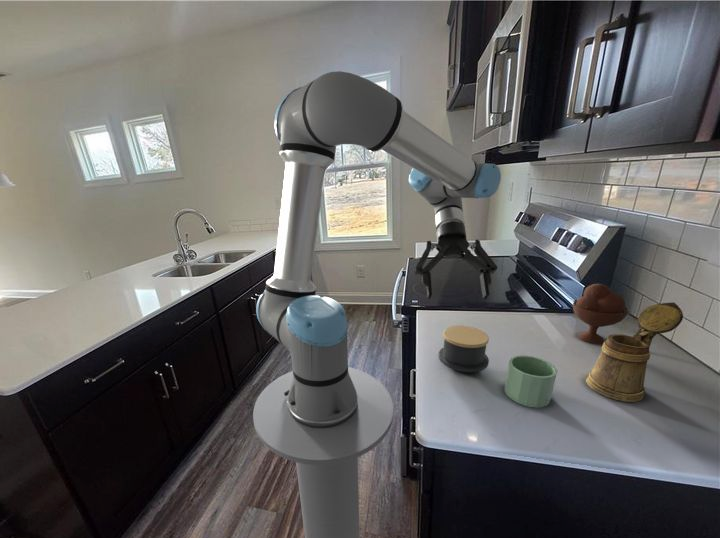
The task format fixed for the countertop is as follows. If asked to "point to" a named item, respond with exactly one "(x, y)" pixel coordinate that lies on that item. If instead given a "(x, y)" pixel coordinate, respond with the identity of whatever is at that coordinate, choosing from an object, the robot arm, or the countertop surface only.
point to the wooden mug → (631, 355)
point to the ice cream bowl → (598, 310)
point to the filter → (464, 349)
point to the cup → (530, 381)
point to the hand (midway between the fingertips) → (457, 296)
